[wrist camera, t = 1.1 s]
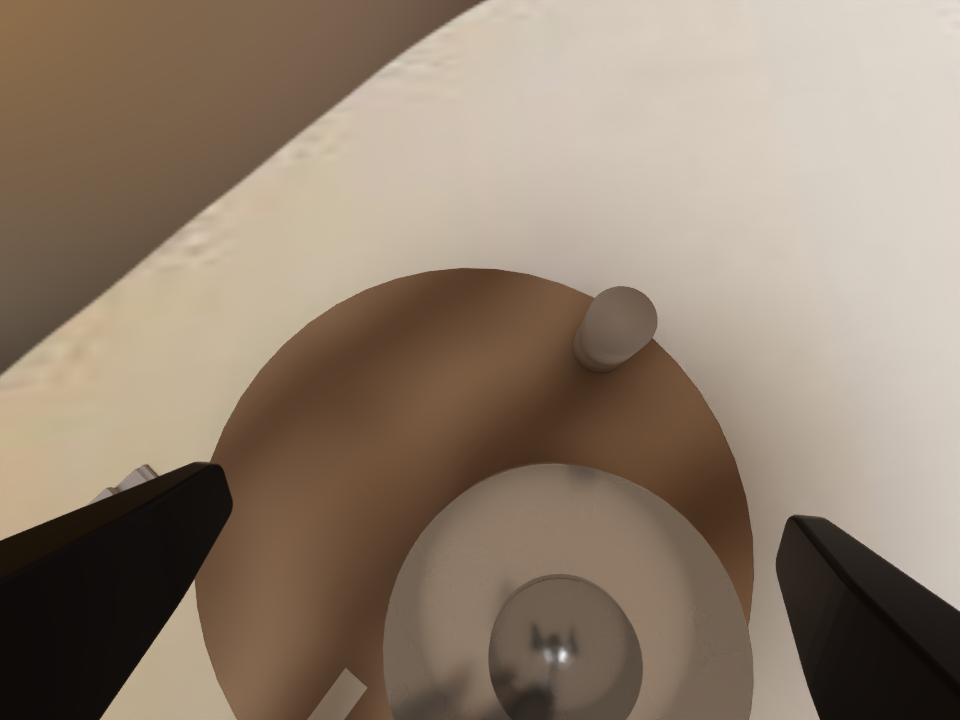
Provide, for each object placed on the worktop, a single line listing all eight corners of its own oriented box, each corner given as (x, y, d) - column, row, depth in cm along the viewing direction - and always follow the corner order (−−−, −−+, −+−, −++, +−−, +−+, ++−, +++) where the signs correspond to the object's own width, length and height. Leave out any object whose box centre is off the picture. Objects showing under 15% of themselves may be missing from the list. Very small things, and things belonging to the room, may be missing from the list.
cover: (762, 584, 16) (842, 629, 12) (589, 846, 15) (615, 988, 11) (522, 405, 18) (523, 394, 14) (353, 633, 17) (302, 691, 13)
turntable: (831, 477, 19) (977, 492, 13) (520, 949, 17) (522, 1225, 11) (426, 200, 22) (393, 110, 16) (130, 569, 20) (-32, 620, 14)
